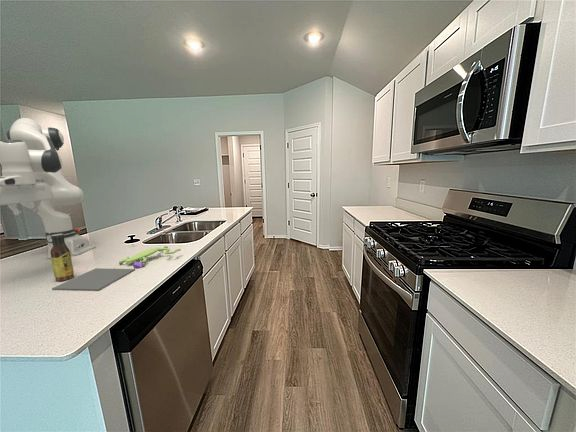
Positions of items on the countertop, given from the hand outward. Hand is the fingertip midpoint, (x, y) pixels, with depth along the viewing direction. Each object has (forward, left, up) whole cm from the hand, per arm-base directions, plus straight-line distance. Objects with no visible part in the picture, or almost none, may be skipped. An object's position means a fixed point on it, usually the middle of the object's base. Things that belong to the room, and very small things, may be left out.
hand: (27, 213), depth 101 cm
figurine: (-24, +36, -30) cm, 52 cm away
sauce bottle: (0, +11, -29) cm, 32 cm away
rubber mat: (0, +26, -29) cm, 39 cm away
